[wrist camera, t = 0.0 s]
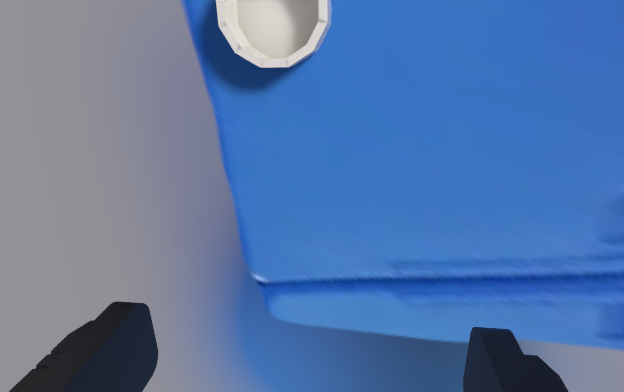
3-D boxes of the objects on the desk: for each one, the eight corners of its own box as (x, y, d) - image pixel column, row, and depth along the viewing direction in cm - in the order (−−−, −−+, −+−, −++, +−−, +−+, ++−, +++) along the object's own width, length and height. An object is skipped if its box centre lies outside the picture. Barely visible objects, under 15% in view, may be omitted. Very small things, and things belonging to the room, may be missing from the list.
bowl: (227, -44, 33) (210, -56, 29) (331, -49, 32) (327, -62, 28) (237, 66, 36) (222, 68, 32) (331, 64, 35) (327, 66, 31)
